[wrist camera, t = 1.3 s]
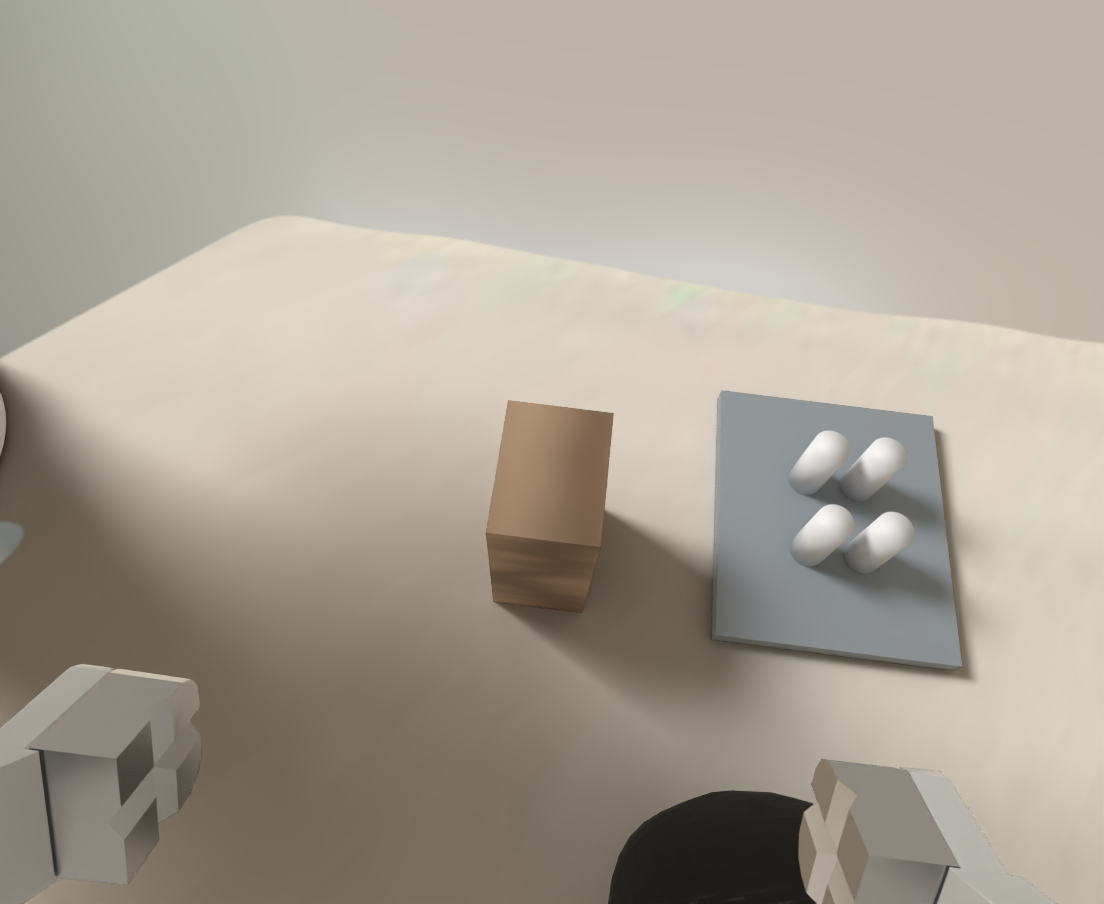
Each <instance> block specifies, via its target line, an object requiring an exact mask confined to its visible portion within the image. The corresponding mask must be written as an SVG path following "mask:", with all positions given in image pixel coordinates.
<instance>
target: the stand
mask: <svg viewBox="0 0 1104 904" xmlns="http://www.w3.org/2000/svg"><path fill="white" fill-rule="evenodd" d="M711 640H719V641H726V642H734V643H742V644H750V645H758V646H766V647H773V648H781V649H789V650H797V651H805V652H812V653H820V654H828V655H836V656H844V657H851V658H859V659H867V660H875V661H883V662H890V663H898V664H906V665H914V666H922V667H929V668H937V669H945V670H954V669H957V668H959V667H962V661H961V653H960V644H959V636H958V627H957V619H956V610H955V602H954V594H953V585H952V577H951V568H950V560H949V551H948V543H947V534H946V526H945V517H944V509H943V500H942V492H941V484H940V475H939V467H938V458H937V450H936V441H935V433H934V424H933V416H926V415H918V414H909V413H901V412H893V411H885V410H877V409H869V408H861V407H852V406H844V405H836V404H828V403H820V402H812V401H804V400H795V399H787V398H779V397H771V396H763V395H755V394H746V393H738V392H730V391H721V393H720V395H719V397H718V402H717V441H716V480H715V519H714V558H713V597H712V636H711Z"/></svg>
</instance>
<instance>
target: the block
mask: <svg viewBox="0 0 1104 904" xmlns="http://www.w3.org/2000/svg"><path fill="white" fill-rule="evenodd" d="M613 414H614V413H607V412H599V411H591V410H583V409H575V408H567V407H559V406H551V405H543V404H534V403H526V402H518V401H510V400H508V404H507V410H506V416H505V422H504V428H503V434H502V440H501V446H500V452H499V458H498V464H497V470H496V475H495V481H494V487H493V493H492V499H491V505H490V511H489V517H488V523H487V529H486V538H487V547H488V556H489V566H490V575H491V584H492V593H493V602H501V603H509V604H517V605H524V606H532V607H540V608H548V609H556V610H563V611H571V612H579V613H582V610H583V607H584V603H585V600H586V596H587V593H588V590H589V586H590V583H591V579H592V576H593V572H594V569H595V566H596V562H597V559H598V555H599V552H600V548H601V541H602V530H603V520H604V509H605V499H606V488H607V478H608V467H609V457H610V446H611V436H612V425H613Z"/></svg>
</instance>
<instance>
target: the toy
mask: <svg viewBox="0 0 1104 904" xmlns="http://www.w3.org/2000/svg"><path fill="white" fill-rule="evenodd" d="M812 805H813V803H809V802H806V801H802V800H799V799H795V798H791V797H787V796H783V795H779V794H775V793H771V792H750V791H722V792H712V793H709V794H706V795H703V796H699V797H696V798H693V799H691V800H688V801H686V802H683V803H680V804H678V805H675V806H673V807H671V808H669V809H666V810H664V811H662V812H660V813H658V814H657V815H655V816H654V817H652V818H650V819H649V820H647V821H646V822H644V823H643V824H642V825H641V826H640V827H639V828H638V829H637V830H636V831H635V832H634V833H633V834H632V835H631V836H630V837H629V839H628V841H627V843H626V844H625V846H624V848H623V850H622V851H621V853H620V855H619V857H618V860H617V864H616V867H615V870H614V873H613V876H612V881H611V888H610V895H609V901H608V904H817V903H816V902H815V901H814V900H813V899H812V898H811V897H810V896H809V895H808V894H807V893H806V890H805V886H804V883H803V879H802V876H801V870H800V863H799V832H800V827H801V823H802V818H803V814H804V812H805V811H806V810H807V809H808V808H810V807H811V806H812Z"/></svg>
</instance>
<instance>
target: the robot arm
mask: <svg viewBox="0 0 1104 904" xmlns="http://www.w3.org/2000/svg"><path fill="white" fill-rule="evenodd" d="M5 432H6V413H5V406H4V402H3V398H2V396H1V393H0V455H1V452H2V448H3V444H4V439H5ZM199 708H200V702H199V691H198V685H197V684H196V683H195V682H194V681H192V680H191V679H186V678H179V677H172V676H166V675H159V674H152V673H145V672H139V671H132V670H125V669H114V668H109V667H102V666H95V665H87V664H79V665H76V666H72V667H69V668H68V669H67V670H66V671H65V672H64V673H62V674H61V675H60V676H59V677H58V678H57V679H56V680H54V681H53V682H52V683H51V684H50V685H49V686H48V687H46V688H45V689H44V690H43V691H42V692H41V693H40V694H38V695H37V696H36V697H35V698H34V699H33V700H32V701H30V702H29V703H28V704H27V705H26V706H25V707H24V708H22V709H21V710H20V711H19V712H18V713H17V714H16V715H14V716H13V717H12V718H11V719H10V720H9V721H8V722H6V723H5V724H4V725H3V726H2V727H1V728H0V904H23V903H25V902H26V901H28V900H29V899H31V898H32V897H34V896H35V895H37V894H38V893H40V892H41V891H43V890H44V889H46V888H47V887H48V886H50V885H51V884H53V883H54V882H55V881H56V880H55V878H65V879H75V880H85V881H95V882H105V883H115V884H125V885H128V884H129V882H130V881H131V879H132V878H133V877H134V875H135V874H136V872H137V871H138V869H139V868H140V866H141V865H142V864H143V862H144V861H145V859H146V858H147V856H148V855H149V854H150V852H151V851H152V849H153V848H154V846H155V845H156V843H157V842H158V841H159V832H158V823H159V822H161V821H163V820H164V819H166V818H168V817H170V816H171V815H173V814H175V813H177V812H178V811H179V810H180V808H181V807H182V805H183V804H184V802H185V801H186V799H187V798H188V796H189V795H190V793H191V790H192V788H193V785H194V782H195V780H196V777H197V775H198V772H199V768H200V761H201V754H202V739H201V735H200V733H199V732H198V731H197V729H196V728H195V727H194V725H193V724H192V723H191V722H190V719H191V718H192V717H193V715H194V714H195V713H196V712H197V710H198V709H199ZM811 785H812V788H813V791H814V794H815V796H816V799H817V802H816V803H815V804H813V805H812V806H811V807H810V808H808V809H807V810H806V811H805V812H804V814H803V818H802V823H801V827H800V832H799V863H800V870H801V876H802V879H803V883H804V886H805V890H806V893H807V894H808V895H809V896H810V897H811V898H812V899H813V900H814V901H815V902H816V903H817V904H1058V903H1056V902H1055V901H1054V900H1052V899H1051V898H1050V897H1048V896H1047V895H1046V894H1044V893H1043V892H1042V891H1040V890H1039V889H1038V888H1036V887H1035V886H1034V885H1032V884H1031V883H1030V882H1028V881H1027V880H1026V879H1024V878H1023V877H1020V876H1013V875H1009V874H1008V873H1007V871H1006V869H1005V868H1004V866H1003V864H1002V863H1001V861H1000V860H999V858H998V856H997V855H996V853H995V852H994V850H993V848H992V847H991V845H990V843H989V842H988V840H987V839H986V837H985V835H984V834H983V832H982V830H981V829H980V827H979V826H978V824H977V822H976V821H975V819H974V818H973V816H972V814H971V813H970V811H969V809H968V808H967V806H966V805H965V803H964V801H963V800H962V798H961V797H960V795H959V793H958V792H957V790H956V788H955V787H954V785H953V784H952V782H951V780H950V779H949V778H948V777H947V776H946V775H945V774H943V773H942V772H941V771H934V770H924V769H914V768H904V767H900V768H892V767H884V766H875V765H867V764H859V763H851V762H842V761H834V760H826V759H821V761H820V762H819V764H818V765H817V767H816V769H815V772H814V776H813V780H812V783H811Z"/></svg>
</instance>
